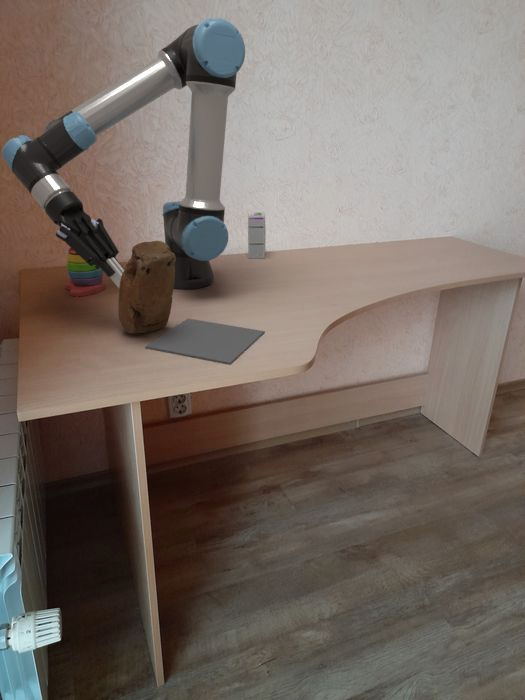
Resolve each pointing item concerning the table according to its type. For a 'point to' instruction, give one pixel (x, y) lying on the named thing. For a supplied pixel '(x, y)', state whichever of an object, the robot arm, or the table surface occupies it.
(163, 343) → the mat
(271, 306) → the table surface
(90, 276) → the stacking bear
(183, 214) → the robot arm
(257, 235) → the syrup box
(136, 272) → the block
